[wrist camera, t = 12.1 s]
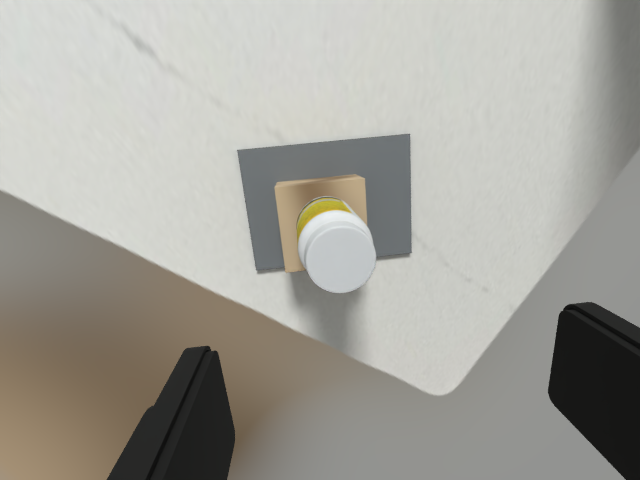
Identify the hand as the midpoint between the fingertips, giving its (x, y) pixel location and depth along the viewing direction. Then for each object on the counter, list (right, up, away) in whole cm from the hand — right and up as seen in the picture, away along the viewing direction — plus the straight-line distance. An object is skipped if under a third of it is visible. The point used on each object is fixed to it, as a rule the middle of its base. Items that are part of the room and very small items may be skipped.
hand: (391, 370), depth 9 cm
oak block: (-2, +6, +21) cm, 22 cm away
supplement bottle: (-1, +5, +17) cm, 18 cm away
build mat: (-1, +7, +21) cm, 22 cm away
